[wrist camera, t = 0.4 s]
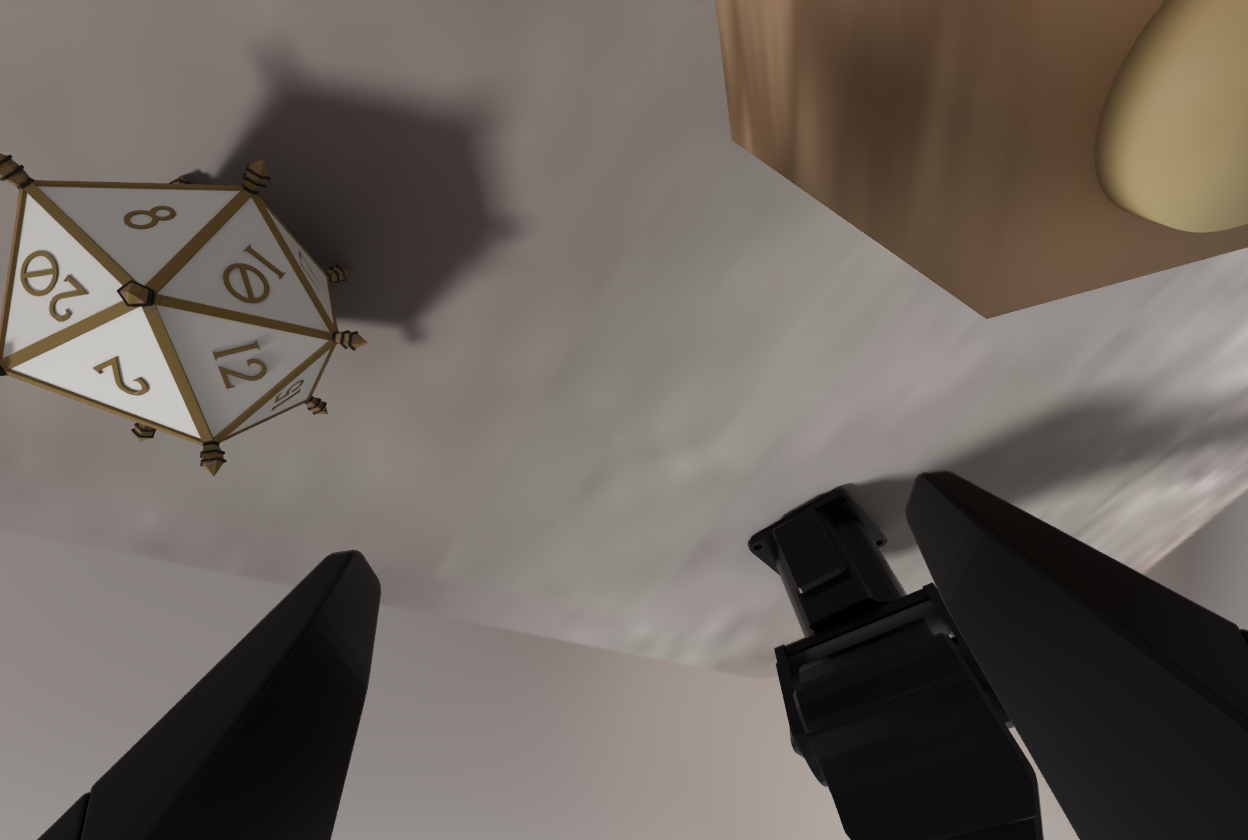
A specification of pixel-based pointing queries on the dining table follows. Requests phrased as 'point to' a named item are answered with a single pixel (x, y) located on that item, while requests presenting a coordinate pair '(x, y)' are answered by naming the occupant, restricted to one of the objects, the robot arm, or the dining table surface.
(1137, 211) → the walnut block
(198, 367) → the game die
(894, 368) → the dining table surface
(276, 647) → the robot arm
